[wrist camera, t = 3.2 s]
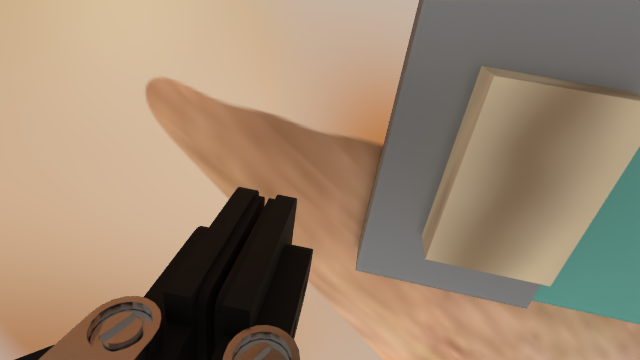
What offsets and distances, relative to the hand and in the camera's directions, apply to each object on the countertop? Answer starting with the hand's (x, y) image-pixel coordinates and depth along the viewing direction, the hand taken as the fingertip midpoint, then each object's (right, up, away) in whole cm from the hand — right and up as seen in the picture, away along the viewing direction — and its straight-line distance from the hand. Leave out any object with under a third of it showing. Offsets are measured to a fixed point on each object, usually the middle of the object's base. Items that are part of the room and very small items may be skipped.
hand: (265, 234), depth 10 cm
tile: (+11, +2, +6) cm, 13 cm away
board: (+10, +4, +8) cm, 13 cm away
